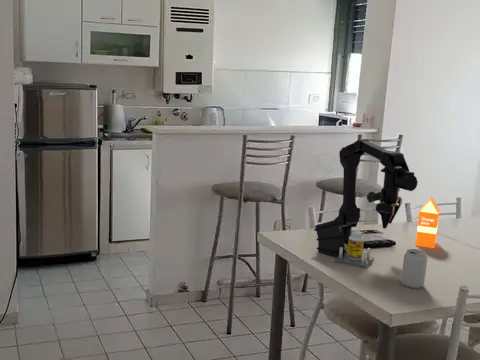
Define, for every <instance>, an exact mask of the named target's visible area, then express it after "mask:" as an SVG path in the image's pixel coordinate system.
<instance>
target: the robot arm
mask: <svg viewBox="0 0 480 360" xmlns="http://www.w3.org/2000/svg"><path fill="white" fill-rule="evenodd" d="M365 154H367V155H369V156H370V157H373V158H375V159H377V160H378V161H379V163H380V164H381V165H382V166H383V167H382V169H381V170H380V172H382V173H384V176H383V184H382V185H383V186H382V188H381V189H380V190H377V191H369V192H368V193H367V194H366V199H367V201H368V203H373V202H375V201H379V202H378V203H377V204H376V205H375V211H376V213H378V214H379V215H380V219H381V226H382V229H387V227H388V225H389V224H392V223H393V221H394V219H395V217H396V215H397V214H398V212H399V210H400V208H401V205H402V204H403V198H402V197H401V196H399V192H400V190H401V189H402V190H404V191H408V192H412V191H414V190H416V188H417V186H418V182H419V181H418V179H417V177H416V176H415V171H410V169H409V166H408V164H407V161H406V158H405V155H404V154H403V153H402V152H400V151H396V150H395V151H393V150H387V149H386V148H384V147H381V146H379V145H377V144H375V143H373V142H370V140H368V139H357V140H356V141H355V142H352V143H350V144H348V145H346V146H345V147H344V146H343V147H341V149H340V150H339V153H338V155H339V163H340V165H341V167H342V168H343V182H342V183H343V186H342V188H343V189H342V190H343V191H342V195H343V196H342V203H341V206H340V207H339V209H338V216H337V217H335V218H334V220H337V219H340V221H341V222H342V223H343V224H341V225H342V229H343V235H345V237H344V244H348V241H349V237H350V236H351V233H352V231H353V230H352V228H357V226H358V224H359V222H360V219H361V208H360V207H358V206H357V204H356V185H357V184H356V181H357V174H356V173H357V167H358V166H359V164H360V163H361V157H362V156H364V155H365Z"/></svg>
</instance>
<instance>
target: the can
mask: <svg viewBox="0 0 480 360" xmlns="http://www.w3.org/2000/svg"><path fill="white" fill-rule="evenodd" d="M402 262H403V263H402V271H401V280H400V282H401V283H402V284H403V285H404V287H407V288H410V287H411V288H410V289H421V288H422V287H424V285H425V279H426V272H427V264H428V256H427V255H426V251H424V250H421V249H417V248H409V249H408V248H407V250H406V252H405V253H404V254H403V261H402Z"/></svg>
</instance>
